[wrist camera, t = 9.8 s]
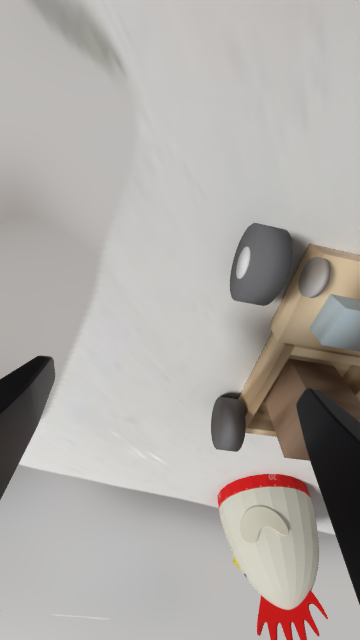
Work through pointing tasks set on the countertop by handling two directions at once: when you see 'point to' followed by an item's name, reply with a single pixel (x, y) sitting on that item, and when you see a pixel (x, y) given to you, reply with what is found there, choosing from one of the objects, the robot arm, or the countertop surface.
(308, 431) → the robot arm
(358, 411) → the block
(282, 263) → the wheel
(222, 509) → the kitchen timer
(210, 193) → the countertop surface
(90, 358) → the countertop surface
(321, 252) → the chassis
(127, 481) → the countertop surface
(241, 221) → the countertop surface
